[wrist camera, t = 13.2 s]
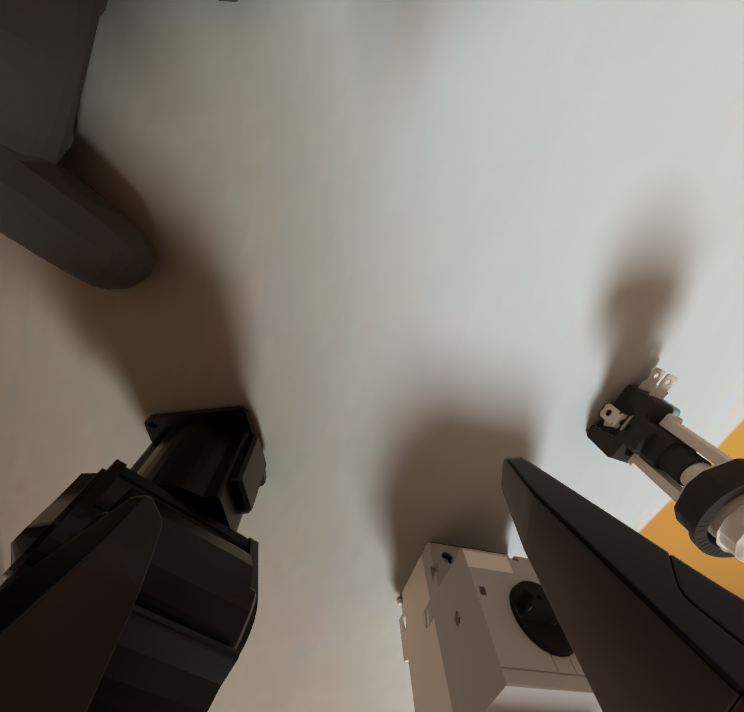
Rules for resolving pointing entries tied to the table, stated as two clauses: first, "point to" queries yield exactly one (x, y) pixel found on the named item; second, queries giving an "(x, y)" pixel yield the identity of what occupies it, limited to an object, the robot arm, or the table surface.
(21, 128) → the gaming controller
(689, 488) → the push button
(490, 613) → the circuit breaker
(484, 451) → the table surface
